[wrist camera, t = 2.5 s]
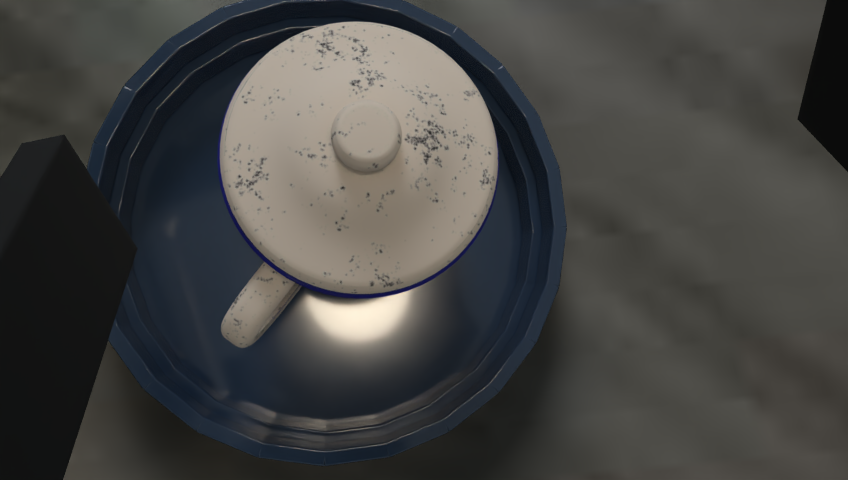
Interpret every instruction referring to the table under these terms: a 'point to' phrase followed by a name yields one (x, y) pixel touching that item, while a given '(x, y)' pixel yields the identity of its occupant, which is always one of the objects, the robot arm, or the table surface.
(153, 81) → the bowl
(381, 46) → the teacup with lid
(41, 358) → the robot arm
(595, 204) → the table surface
